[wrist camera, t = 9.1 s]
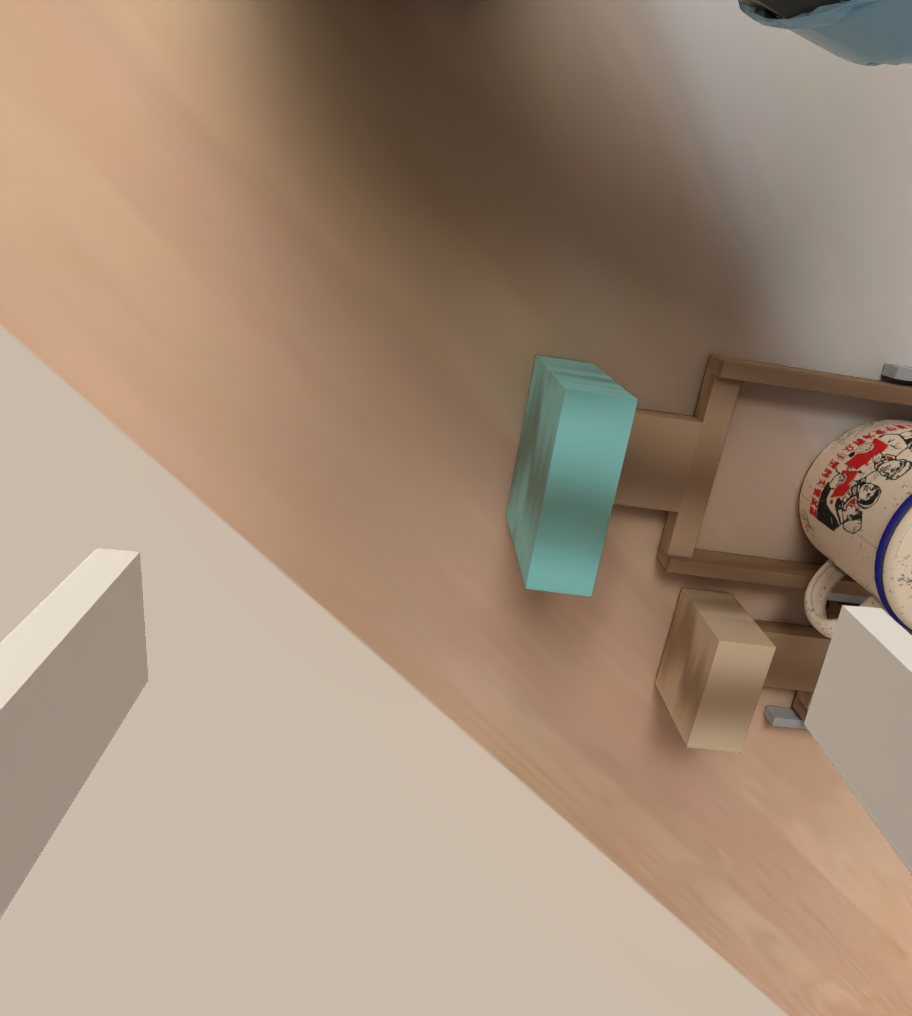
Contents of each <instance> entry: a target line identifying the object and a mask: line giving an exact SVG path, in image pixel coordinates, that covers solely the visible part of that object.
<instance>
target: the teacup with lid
mask: <svg viewBox="0 0 912 1016" xmlns="http://www.w3.org/2000/svg"><path fill="white" fill-rule="evenodd" d="M799 510H800V518H801V523H802V526H803V529H804V531H805V533H806V535H807V537H808V539H809V540H810V541H811V543H812V544H813V545H814V546H815V547H816V548H817V549H818V550H819V551H820V552H821V553H822V554H824V555H825V556H826V557H827V558H828V559H829V560H828V561H827V562H826V563H825V564H824V565H823V566H822V567H821V568H820V569H819V570H818V571H817V572H816V573H815V575H814V576H813V577H812V579H811V580H810V582H809V584H808V586H807V589H806V592H805V597H804V608H805V613H806V616H807V618H808V620H809V621H810V623H811V624H812V625H813V627H814V628H815V629H817V630H818V631H819V632H820V633H821V634H823V635H824V636H826V637H828V638H831V639H832V636H833V633H834V629H835V626H836V623H837V620H838V618H837V619H830V620H829V619H827V617H826V612H825V605H826V600H827V597H828V595H829V593H830V592H831V590H832V589H833V588H834V586H835V585H836V584H837V583H838V582H839V581H840V580H841V579H842V578H843V577H844V576H845V575H846V574H848V575H849V576H850V577H851V578H853V579H854V580H855V581H856V582H857V583H859V584H860V585H861V586H862V587H864V588H865V589H866V590H867V591H868V592H870V593H871V595H870V596H869V597H868V598H867V599H866V600H865V601H864V602H863V603H861V604H860V605H859V607H872V608H881V609H883V610H884V611H885V612H886V613H887V614H888V613H889V614H890V615H891V616H892V617H893V618H894V619H895V620H896V621H897V622H898V623H899V624H900V625H902V626H903V627H905V628H906V629H908V630H910V631H912V422H910V421H905V420H895V419H891V420H879V421H874V422H870V423H867V424H864V425H861V426H858V427H856V428H853V429H851V430H850V431H848V432H846V433H844V434H843V435H841V436H839V437H838V438H837V439H835V440H834V441H833V442H832V443H831V444H829V445H828V446H827V447H826V448H825V449H824V450H823V451H822V452H821V453H820V455H819V456H818V457H817V458H816V460H815V461H814V463H813V464H812V466H811V467H810V469H809V471H808V473H807V475H806V477H805V480H804V483H803V485H802V489H801V493H800V501H799Z"/></svg>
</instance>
